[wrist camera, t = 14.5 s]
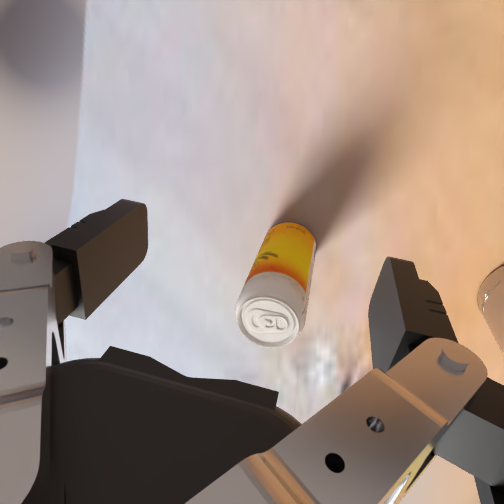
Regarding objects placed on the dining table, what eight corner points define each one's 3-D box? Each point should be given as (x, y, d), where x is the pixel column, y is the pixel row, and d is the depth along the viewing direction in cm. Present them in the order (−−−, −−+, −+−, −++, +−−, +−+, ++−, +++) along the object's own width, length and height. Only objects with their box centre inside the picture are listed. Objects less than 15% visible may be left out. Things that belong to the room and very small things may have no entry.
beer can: (264, 218, 42) (228, 290, 30) (317, 220, 41) (304, 296, 28) (266, 264, 45) (234, 347, 32) (316, 267, 44) (303, 355, 31)
